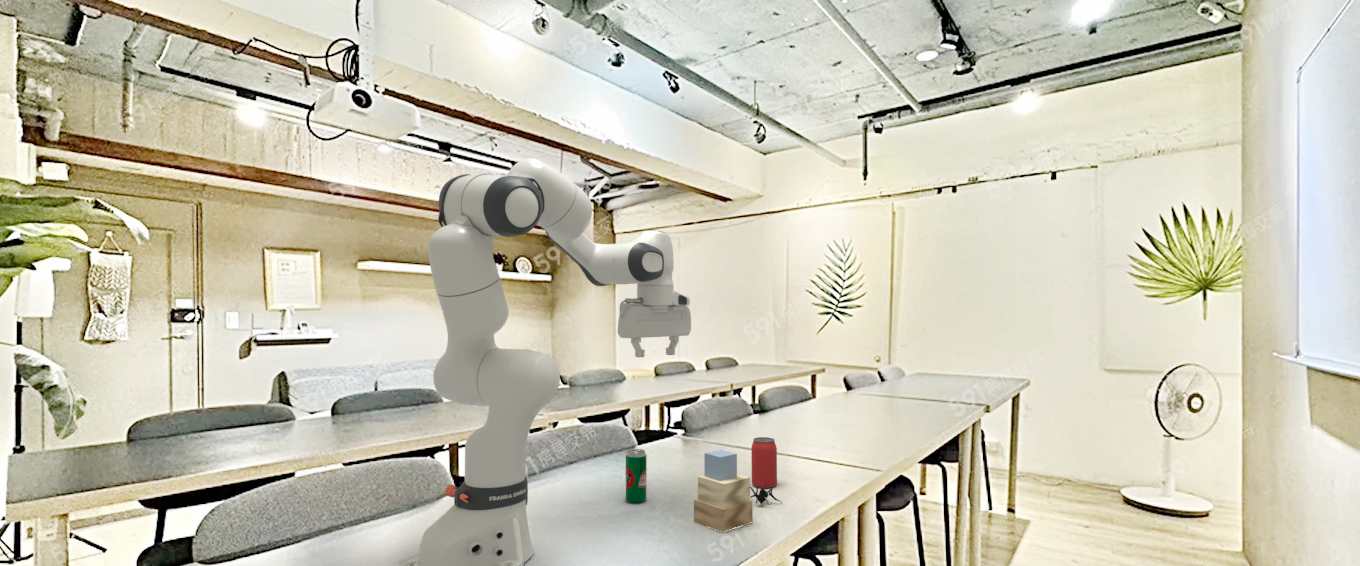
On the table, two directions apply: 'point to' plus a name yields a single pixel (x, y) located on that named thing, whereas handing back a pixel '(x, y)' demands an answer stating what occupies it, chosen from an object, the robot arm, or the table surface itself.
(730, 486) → the block upper
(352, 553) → the table surface
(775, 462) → the beer can
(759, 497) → the creature
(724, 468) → the blue gray block
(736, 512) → the block lower
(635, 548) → the table surface
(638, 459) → the soda can
